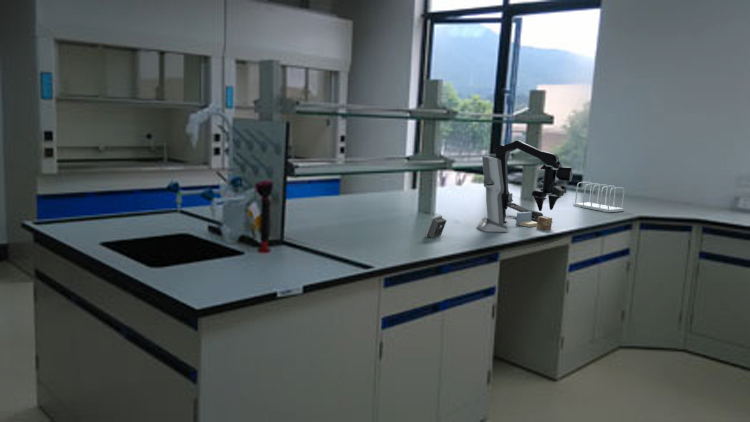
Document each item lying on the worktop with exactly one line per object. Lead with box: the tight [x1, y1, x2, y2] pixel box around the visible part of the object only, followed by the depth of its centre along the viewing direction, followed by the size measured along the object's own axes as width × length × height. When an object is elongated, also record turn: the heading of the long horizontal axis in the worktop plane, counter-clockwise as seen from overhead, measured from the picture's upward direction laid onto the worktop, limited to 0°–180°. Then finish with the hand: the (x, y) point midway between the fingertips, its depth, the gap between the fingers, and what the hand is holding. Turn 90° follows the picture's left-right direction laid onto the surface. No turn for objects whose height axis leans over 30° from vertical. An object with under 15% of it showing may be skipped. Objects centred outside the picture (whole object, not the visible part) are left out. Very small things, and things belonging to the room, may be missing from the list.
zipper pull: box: [508, 202, 544, 222], centre depth 324 cm, size 9×7×25 cm
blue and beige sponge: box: [515, 212, 537, 228], centre depth 306 cm, size 7×11×6 cm, turn 130°
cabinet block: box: [536, 215, 553, 231], centre depth 298 cm, size 6×5×6 cm
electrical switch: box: [424, 215, 447, 239], centre depth 263 cm, size 9×5×9 cm, turn 147°
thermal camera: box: [476, 155, 508, 233], centre depth 285 cm, size 12×13×35 cm
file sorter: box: [572, 181, 626, 213], centre depth 378 cm, size 25×17×16 cm
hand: (545, 210), depth 297 cm, fingers open, 9 cm apart
